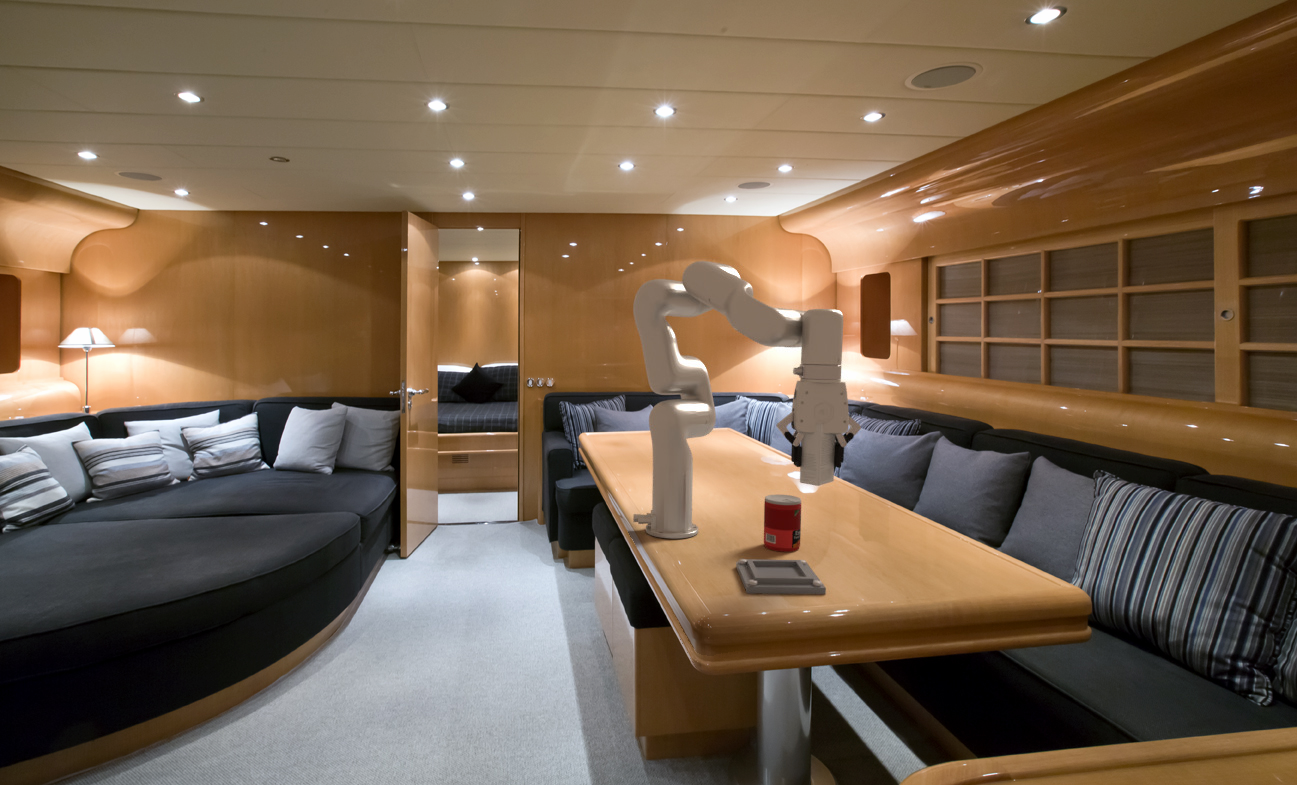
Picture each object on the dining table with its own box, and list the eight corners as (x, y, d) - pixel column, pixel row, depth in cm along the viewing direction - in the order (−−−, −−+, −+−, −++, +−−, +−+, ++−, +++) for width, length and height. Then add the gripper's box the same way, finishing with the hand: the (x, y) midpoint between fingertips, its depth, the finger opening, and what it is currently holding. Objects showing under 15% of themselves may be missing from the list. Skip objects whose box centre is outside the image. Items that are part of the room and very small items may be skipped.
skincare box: (814, 478, 128) (816, 418, 127) (834, 482, 125) (836, 420, 124) (798, 482, 123) (800, 420, 122) (818, 486, 120) (821, 423, 119)
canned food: (800, 553, 137) (802, 503, 137) (763, 550, 139) (764, 500, 138) (799, 543, 145) (800, 495, 144) (763, 540, 147) (764, 493, 146)
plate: (747, 593, 114) (747, 581, 114) (736, 567, 128) (736, 556, 128) (825, 594, 114) (825, 582, 114) (806, 568, 128) (806, 557, 128)
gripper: (780, 374, 118) (776, 469, 120) (873, 376, 119) (868, 470, 120) (771, 372, 126) (768, 462, 127) (858, 374, 126) (854, 463, 128)
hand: (817, 465), depth 124 cm, fingers closed on skincare box, 7 cm apart
